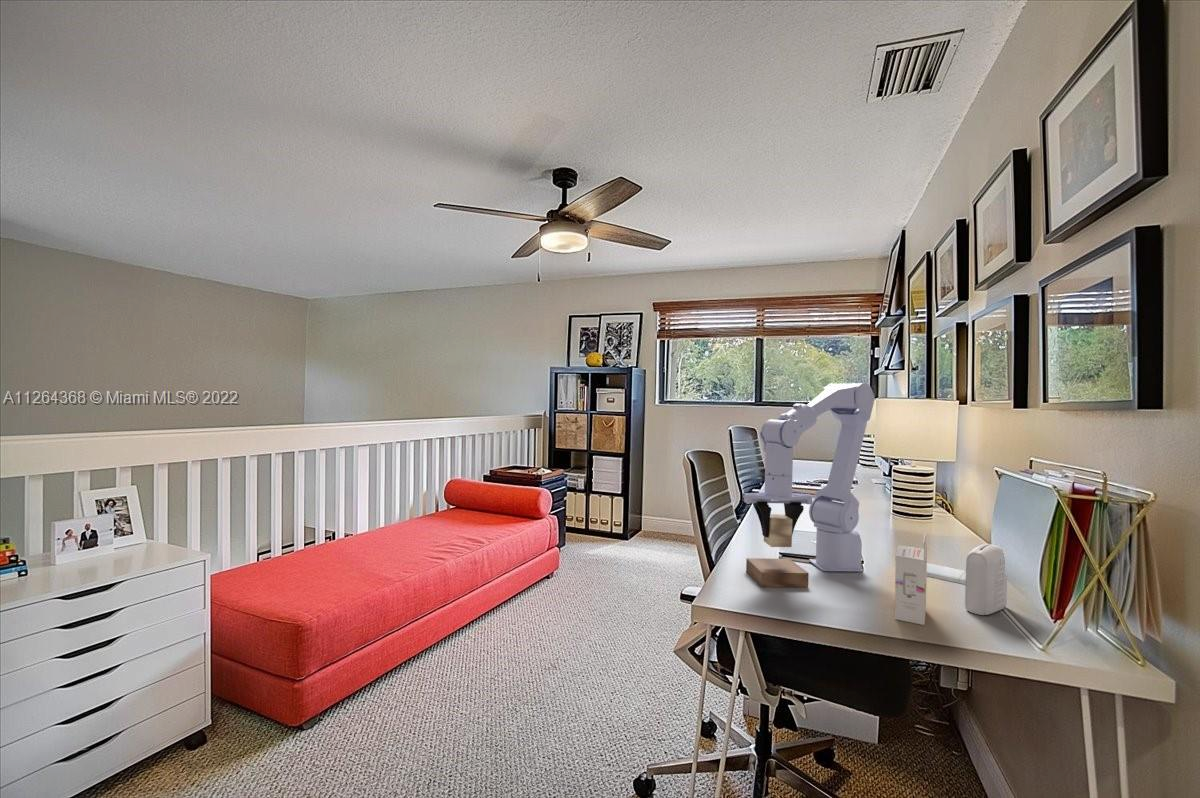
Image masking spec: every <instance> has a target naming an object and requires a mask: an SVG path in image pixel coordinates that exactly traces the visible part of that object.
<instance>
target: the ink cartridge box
mask: <svg viewBox="0 0 1200 798" xmlns="http://www.w3.org/2000/svg"><path fill="white" fill-rule="evenodd" d="M923 535H924V536H923V544H922V545H923V548H919V547H913V546H906V545H897V548H896V552H895V555H894V556H895V558H894V559H895V571H894V572H895V585H894V586H895V595H894V596H895V599H894V603H895V604H894V619H895V620H896V621H897V620H898V621H903V622H906V623H911V624H915V625H916V624H917V625H921V626H925V625H926V606H927V582H928V581H927V577H928V576H927V563H928V545H927V535H926V533H924V534H923Z"/></svg>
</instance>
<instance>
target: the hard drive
mask: <svg viewBox="0 0 1200 798" xmlns="http://www.w3.org/2000/svg"><path fill="white" fill-rule="evenodd" d="M927 577H929V578H934V579H938V580H941V581H946V582H947V581H948V582H953V583H956V584H957V583H958V584H961V585H965V584H966V570H962V569H957V568H952V567H948V566H944V565H938V564H933V563H928V562H927Z"/></svg>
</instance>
